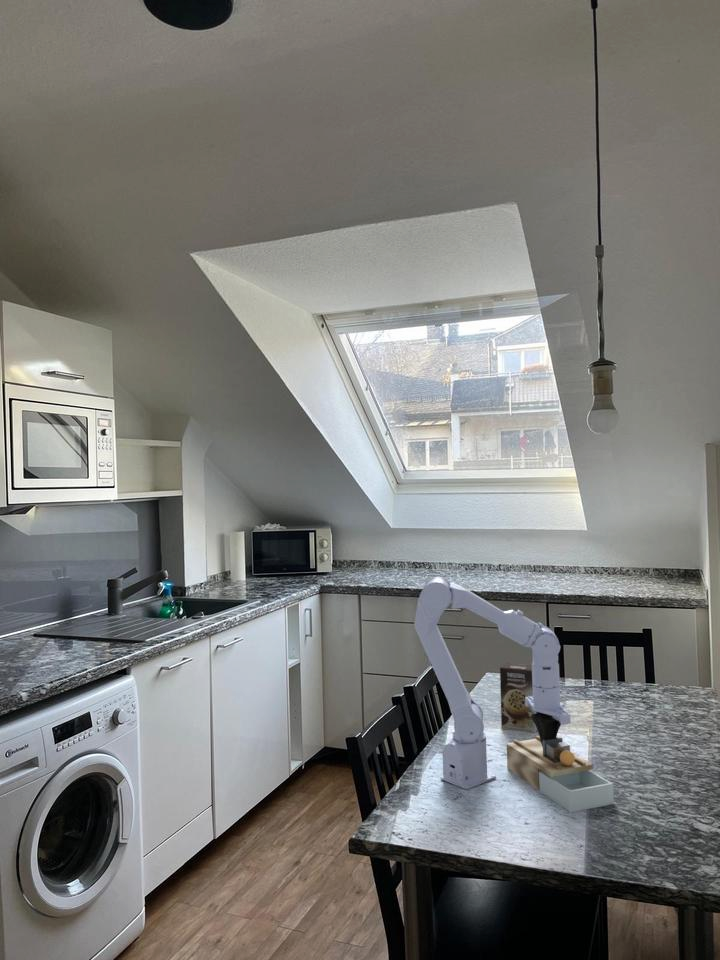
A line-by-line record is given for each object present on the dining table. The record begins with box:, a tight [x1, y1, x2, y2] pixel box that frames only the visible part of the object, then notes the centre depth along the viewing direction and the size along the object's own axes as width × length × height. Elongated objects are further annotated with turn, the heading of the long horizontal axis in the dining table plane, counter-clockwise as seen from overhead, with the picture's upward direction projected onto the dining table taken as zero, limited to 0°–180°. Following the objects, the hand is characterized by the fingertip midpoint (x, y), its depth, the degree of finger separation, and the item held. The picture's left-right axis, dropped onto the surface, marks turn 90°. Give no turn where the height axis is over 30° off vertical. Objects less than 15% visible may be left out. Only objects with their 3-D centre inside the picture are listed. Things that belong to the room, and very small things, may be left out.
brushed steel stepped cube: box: [542, 736, 571, 762], centre depth 157 cm, size 4×4×4 cm
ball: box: [560, 750, 575, 766], centre depth 154 cm, size 3×3×3 cm
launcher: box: [506, 735, 594, 791], centre depth 161 cm, size 18×10×6 cm, turn 18°
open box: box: [539, 770, 615, 813], centre depth 151 cm, size 11×10×4 cm
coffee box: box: [499, 662, 538, 734], centre depth 195 cm, size 9×6×16 cm
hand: (548, 748), depth 160 cm, fingers closed
